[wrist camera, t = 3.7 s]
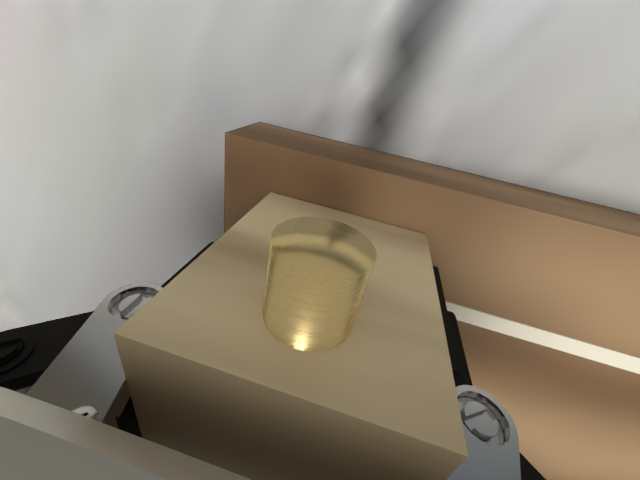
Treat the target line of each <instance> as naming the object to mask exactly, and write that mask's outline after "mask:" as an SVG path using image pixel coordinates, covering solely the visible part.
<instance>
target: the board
mask: <svg viewBox="0 0 640 480" xmlns="http://www.w3.org/2000/svg"><path fill="white" fill-rule="evenodd" d="M270 192H272V193H276V194H280V195H283V196H287V197H291V198H294V199H298V200H302V201H305V202H309V203H313V204H316V205H320V206H324V207H327V208H331V209H335V210H338V211H342V212H345V213H349V214H353V215H356V216H360V217H364V218H367V219H371V220H375V221H378V222H382V223H386V224H389V225H393V226H397V227H400V228H404V229H408V230H411V231H415V232H419V233H422V234H426V235H427V239H428V244H429V250H430V255H431V260H432V265H433V266H436V267H438V270H439V274H440V279H441V284H442V288H443V293H444V298H445V302H446V307H447V311H450V312H453V313H454V314H455V316H456V320H457V324H458V328H459V332H460V336H461V340H462V344H463V348H464V352H465V357H466V361H467V365H468V369H469V373H470V377H471V381H472V385H473V386H475V387H477V388H480V389H482V390H484V391H486V392H487V393H489V394H490V395H492V396H493V397H494V398H495V399H497V400H498V401H499V402H500V403H501V404H502V405H503V406H504V408H505V409H506V410H507V412H508V413H509V414H510V416H511V417H512V419H513V421H514V423H515V425H516V429H517V433H518V439H519V452H520V453H521V454H522V455H523V456H524V457H525V458H526V459H527V460H528V461H529V462H530V463H531V464H532V465H533V466H534V467H535V469H536V470H537V471H538V472H539V473H540V474H541V475H542V476H543V477H544V478H545V479H546V480H640V215H639V214H634V213H630V212H626V211H622V210H618V209H614V208H610V207H606V206H602V205H597V204H593V203H589V202H585V201H581V200H577V199H573V198H569V197H565V196H560V195H556V194H552V193H548V192H544V191H540V190H536V189H532V188H528V187H523V186H519V185H515V184H511V183H507V182H503V181H499V180H495V179H491V178H486V177H482V176H478V175H474V174H470V173H466V172H462V171H458V170H454V169H449V168H445V167H441V166H437V165H433V164H429V163H425V162H421V161H417V160H412V159H408V158H404V157H400V156H396V155H392V154H388V153H384V152H380V151H375V150H371V149H367V148H363V147H359V146H355V145H351V144H347V143H343V142H338V141H334V140H330V139H326V138H322V137H318V136H314V135H310V134H306V133H301V132H297V131H293V130H289V129H285V128H281V127H277V126H273V125H269V124H264V123H260V122H258V123H255V124H251V125H248V126H245V127H242V128H239V129H236V130H232V131H229V132H226V133H225V191H224V233H225V232H226V231H227V230H229V229H230V228H231V227H232V226H233V225H234V224H235V223H236V222H237V221H239V220H240V219H241V218H242V217H243V216H244V215H245V214H247V213H248V212H249V211H250V210H251V209H252V208H254V207H255V206H256V205H257V204H258V203H259V202H260V201H261V200H263V199H264V198H265V197H266V196H267V195H268V194H269V193H270Z"/></svg>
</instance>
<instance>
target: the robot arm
mask: <svg viewBox="0 0 640 480" xmlns="http://www.w3.org/2000/svg"><path fill="white" fill-rule="evenodd" d="M245 215H246V214H245ZM245 215H244V216H245ZM237 222H238V221H237ZM237 222H236V223H237ZM236 223H235V224H236ZM235 224H234V225H235ZM227 231H228V230H227ZM227 231H226V232H227ZM226 232H225V233H226ZM217 240H218V239H217ZM217 240H216V241H217ZM213 243H214V242H211V243H210V244H208V245H207V246H206V247H205V248H204V249H203V250H202V251H200V252H199V253H198V254H197V255H196V256H195V257H194V258H193V259H191V260H190V261H189V262H188V263H187V264H186V265H185V266H183V267H182V268H181V269H180V270H179V271H178V272H177V273H176V274H174V275H173V276H172V277H171V278H170V279H169V280H168V281H167V282H165V283H164V284H163V285H162V286H159V285H157V284H152V283H135V284H129V285H127V286H124V287H121V288H119V289H117V290H115V291H113V292H112V293H110V294H109V295H108V296H107V297H106V298H105V299H104V300H103V301H102V302H101V304H100V305H99V306H98V307H97V308H96V310H95V311H92V312H88V313H83V314H79V315H74V316H70V317H65V318H61V319H56V320H52V321H47V322H42V323H38V324H33V325H29V326H24V327H20V328H15V329H11V330H6V331H3V332H0V480H251V479H249V478H246V477H243V476H241V475H238V474H236V473H233V472H230V471H228V470H225V469H222V468H220V467H217V466H215V465H212V464H209V463H207V462H204V461H202V460H199V459H196V458H194V457H191V456H189V455H186V454H183V453H181V452H178V451H175V450H173V449H170V448H167V447H165V446H162V445H159V444H157V443H154V442H152V441H149V440H146V439H144V438H142V434H141V431H140V427H139V424H138V420H137V417H136V413H135V409H134V406H133V402H132V399H131V395H130V391H129V387H128V384H127V380H126V377H125V374H124V370H123V366H122V363H121V359H120V356H119V352H118V349H117V345H116V341H115V338H114V334H113V332H115V331H116V330H117V329H118V328H119V327H120V326H121V325H122V324H124V323H125V322H126V321H127V320H128V319H129V318H130V317H131V316H133V315H134V314H135V313H136V312H137V311H138V310H139V309H140V308H142V307H143V306H144V305H145V304H146V303H147V302H148V301H149V300H150V299H152V298H153V297H154V296H155V295H156V294H157V293H158V292H159V291H161V290H162V289H163V288H164V287H165V286H166V285H167V284H168V283H170V282H171V281H172V280H173V279H174V278H175V277H176V276H177V275H178V274H180V273H181V272H182V271H183V270H184V269H185V268H186V267H187V266H189V265H190V264H191V263H192V262H193V261H194V260H195V259H196V258H198V257H199V256H200V255H201V254H202V253H203V252H204V251H205V250H207V249H208V248H209V247H210V246H211V245H212V244H213ZM433 271H434V276H435V281H436V287H437V292H438V297H439V302H440V308H441V313H442V318H443V324H444V329H445V334H446V340H447V345H448V350H449V355H450V361H451V366H452V371H453V377H454V382H455V387H456V392H457V398H458V403H459V408H460V414H461V419H462V424H463V430H464V435H465V440H466V445H467V451H468V456H469V457H468V458H467V459H466V460H465V461H464V462H463V463H462V464H461V465H460V466H459V467H458V468H457V469H456V470H455V471H454V472H453V473H452V474H451V475H450V476H449V477H448V478H447V479H446V480H546V479H545V478H544V477H543V476H542V475H541V474H540V473H539V472H538V471H537V470H536V469H535V467H534V466H533V465H532V464H531V463H530V462H529V461H528V460H527V459H526V458H525V457H524V456H523V455H522V454H521V453H520V452H519V439H518V433H517V429H516V425H515V423H514V421H513V419H512V417H511V416H510V414H509V413H508V412H507V410H506V409H505V408H504V406H503V405H502V404H501V403H500V402H499V401H498V400H497V399H495V398H494V397H493V396H492V395H490V394H489V393H487V392H486V391H484V390H482V389H480V388H477V387H475V386H473V385H472V381H471V377H470V373H469V369H468V365H467V361H466V357H465V352H464V348H463V344H462V340H461V336H460V332H459V328H458V324H457V320H456V316H455V314H454V313H453V312H450V311H447V307H446V302H445V298H444V293H443V288H442V284H441V279H440V274H439V270H438V267H436V266H433Z"/></svg>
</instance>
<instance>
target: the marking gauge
mask: <svg viewBox="0 0 640 480" xmlns="http://www.w3.org/2000/svg"><path fill="white" fill-rule="evenodd" d="M113 334H114V338H115V341H116V345H117V349H118V352H119V356H120V359H121V363H122V366H123V370H124V374H125V377H126V380H127V384H128V387H129V391H130V395H131V399H132V402H133V406H134V409H135V413H136V417H137V420H138V424H139V427H140V431H141V434H142V438H144V439H146V440H149V441H152V442H154V443H157V444H159V445H162V446H165V447H167V448H170V449H173V450H175V451H178V452H181V453H183V454H186V455H189V456H191V457H194V458H196V459H199V460H202V461H204V462H207V463H209V464H212V465H215V466H217V467H220V468H222V469H225V470H228V471H230V472H233V473H236V474H238V475H241V476H243V477H246V478H249V479H251V480H446V479H447V478H448V477H449V476H450V475H451V474H452V473H453V472H454V471H455V470H456V469H457V468H458V467H459V466H460V465H461V464H462V463H463V462H464V461H465V460H466V459H467V458H468V457H469V456H468V451H467V445H466V440H465V435H464V430H463V424H462V419H461V414H460V408H459V403H458V398H457V392H456V387H455V382H454V377H453V371H452V366H451V361H450V355H449V350H448V345H447V340H446V334H445V329H444V324H443V318H442V313H441V308H440V302H439V297H438V292H437V287H436V281H435V276H434V271H433V265H432V260H431V255H430V250H429V244H428V239H427V235H426V234H422V233H419V232H415V231H411V230H408V229H404V228H400V227H397V226H393V225H389V224H386V223H382V222H378V221H375V220H371V219H367V218H364V217H360V216H356V215H353V214H349V213H345V212H342V211H338V210H335V209H331V208H327V207H324V206H320V205H316V204H313V203H309V202H305V201H302V200H298V199H294V198H291V197H287V196H283V195H280V194H276V193H272V192H270V193H269V194H268V195H267V196H266V197H265V198H264V199H263V200H261V201H260V202H259V203H258V204H257V205H256V206H255V207H254V208H252V209H251V210H250V211H249V212H248V213H247V214H246V215H245V216H243V217H242V218H241V219H240V220H239V221H238V222H237V223H236V224H235V225H233V226H232V227H231V228H230V229H229V230H228V231H227V232H226V233H224V234H223V235H222V236H221V237H220V238H219V239H218V240H217V241H215V242H214V243H213V244H212V245H211V246H210V247H209V248H208V249H207V250H205V251H204V252H203V253H202V254H201V255H200V256H199V257H198V258H196V259H195V260H194V261H193V262H192V263H191V264H190V265H189V266H187V267H186V268H185V269H184V270H183V271H182V272H181V273H180V274H178V275H177V276H176V277H175V278H174V279H173V280H172V281H171V282H170V283H168V284H167V285H166V286H165V287H164V288H163V289H162V290H161V291H159V292H158V293H157V294H156V295H155V296H154V297H153V298H152V299H150V300H149V301H148V302H147V303H146V304H145V305H144V306H143V307H142V308H140V309H139V310H138V311H137V312H136V313H135V314H134V315H133V316H131V317H130V318H129V319H128V320H127V321H126V322H125V323H124V324H122V325H121V326H120V327H119V328H118V329H117V330H116V331H115V332H113Z"/></svg>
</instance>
